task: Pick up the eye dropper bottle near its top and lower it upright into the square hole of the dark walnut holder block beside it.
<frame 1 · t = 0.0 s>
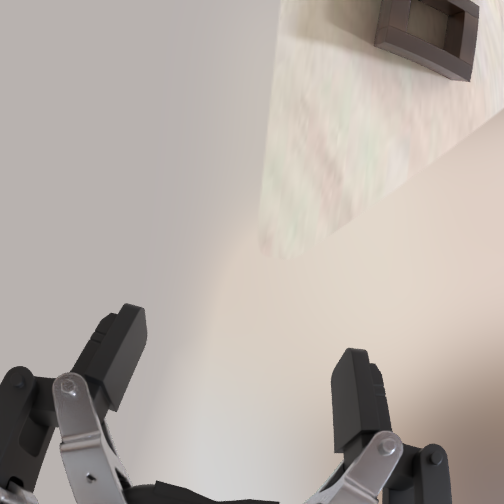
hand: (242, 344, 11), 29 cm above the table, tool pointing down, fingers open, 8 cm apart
holder: (422, 25, 24), on the table
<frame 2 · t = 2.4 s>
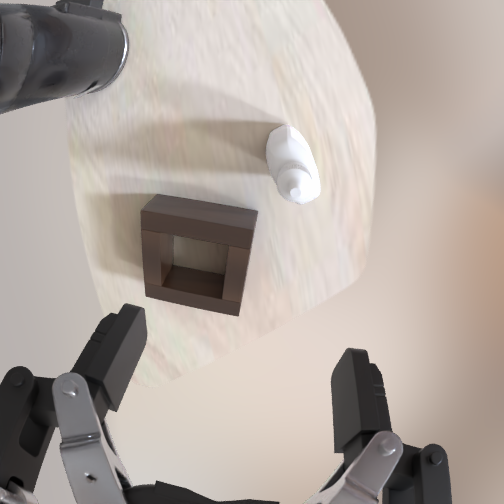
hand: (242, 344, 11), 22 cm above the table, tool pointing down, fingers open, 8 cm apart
holder: (202, 246, 35), on the table
eye dropper bottle: (291, 150, 28), on the table
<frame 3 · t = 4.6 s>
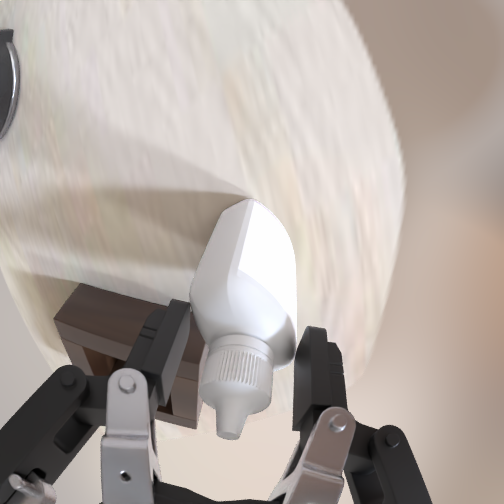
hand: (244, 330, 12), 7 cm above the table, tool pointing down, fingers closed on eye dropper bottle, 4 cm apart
holder: (146, 345, 25), on the table
eye dropper bottle: (260, 238, 18), on the table, touching gripper
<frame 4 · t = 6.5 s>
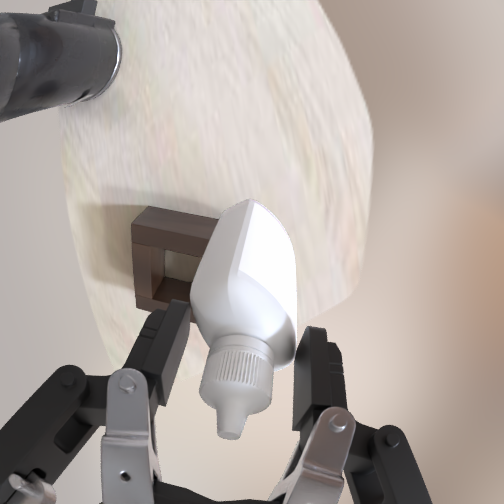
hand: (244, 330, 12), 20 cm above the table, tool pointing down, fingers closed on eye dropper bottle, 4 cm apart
holder: (193, 259, 35), on the table
eye dropper bottle: (260, 238, 18), point 13 cm above the table, touching gripper
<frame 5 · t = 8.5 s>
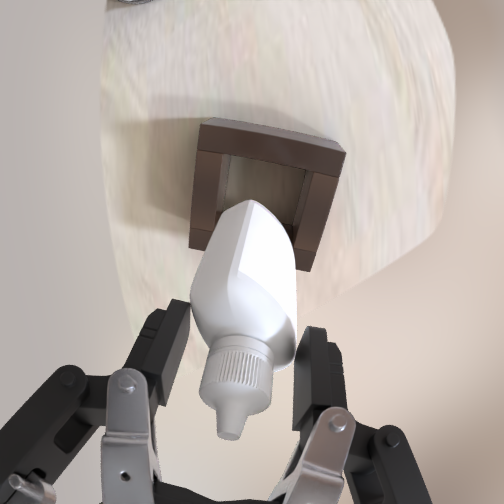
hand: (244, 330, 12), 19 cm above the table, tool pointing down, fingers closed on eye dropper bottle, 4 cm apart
holder: (264, 185, 28), on the table
eye dropper bottle: (260, 239, 18), point 12 cm above the table, touching gripper
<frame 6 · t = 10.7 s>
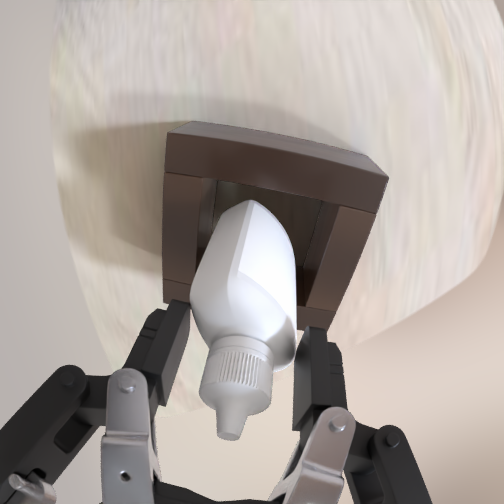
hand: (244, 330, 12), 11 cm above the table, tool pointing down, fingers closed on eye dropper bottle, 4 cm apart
holder: (265, 215, 21), on the table
eye dropper bottle: (260, 239, 18), point 3 cm above the table, touching gripper
when the fingers open (7 cm above the table, at t = 12.2 s): eye dropper bottle stays where it is, resting in holder.
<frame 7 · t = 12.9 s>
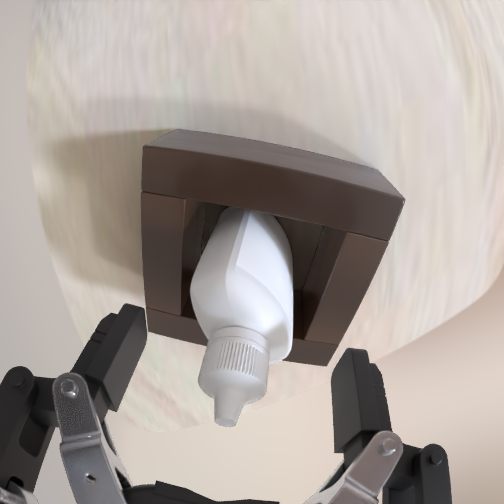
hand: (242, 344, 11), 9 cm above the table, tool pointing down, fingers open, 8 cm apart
holder: (260, 236, 18), on the table
eye dropper bottle: (258, 237, 19), resting in holder
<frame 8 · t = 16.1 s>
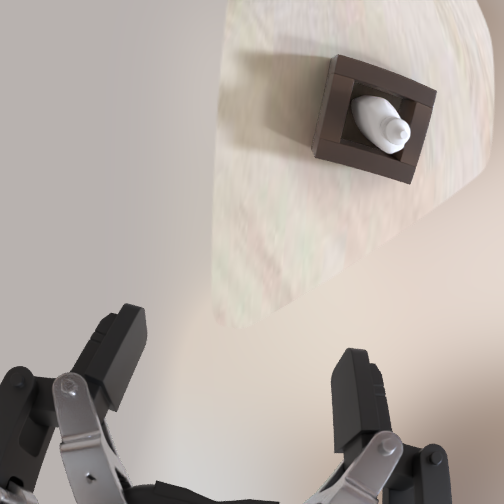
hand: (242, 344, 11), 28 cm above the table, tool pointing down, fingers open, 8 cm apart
holder: (368, 116, 31), on the table
eye dropper bottle: (367, 117, 31), resting in holder
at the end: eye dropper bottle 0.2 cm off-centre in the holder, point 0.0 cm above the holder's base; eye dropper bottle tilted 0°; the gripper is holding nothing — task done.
